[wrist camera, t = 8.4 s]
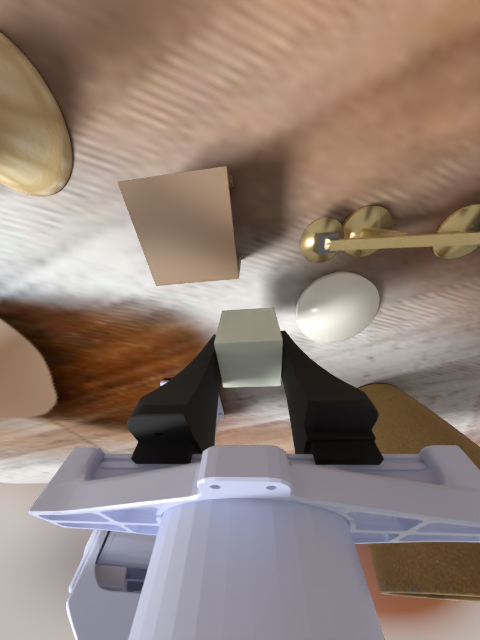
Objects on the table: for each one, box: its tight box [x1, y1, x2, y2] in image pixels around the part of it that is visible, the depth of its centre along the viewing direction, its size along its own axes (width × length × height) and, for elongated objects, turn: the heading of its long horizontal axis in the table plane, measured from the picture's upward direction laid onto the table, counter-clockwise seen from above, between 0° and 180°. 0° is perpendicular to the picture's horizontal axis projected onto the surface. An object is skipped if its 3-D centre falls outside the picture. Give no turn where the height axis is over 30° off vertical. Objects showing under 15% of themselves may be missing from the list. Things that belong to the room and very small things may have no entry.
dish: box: [295, 272, 380, 343], centre depth 18 cm, size 8×8×1 cm
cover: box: [118, 166, 241, 286], centre depth 13 cm, size 6×6×5 cm
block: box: [214, 308, 283, 388], centre depth 13 cm, size 4×4×4 cm
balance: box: [300, 204, 480, 263], centre depth 12 cm, size 4×11×6 cm, turn 95°
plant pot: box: [358, 384, 480, 602], centre depth 19 cm, size 15×15×16 cm
